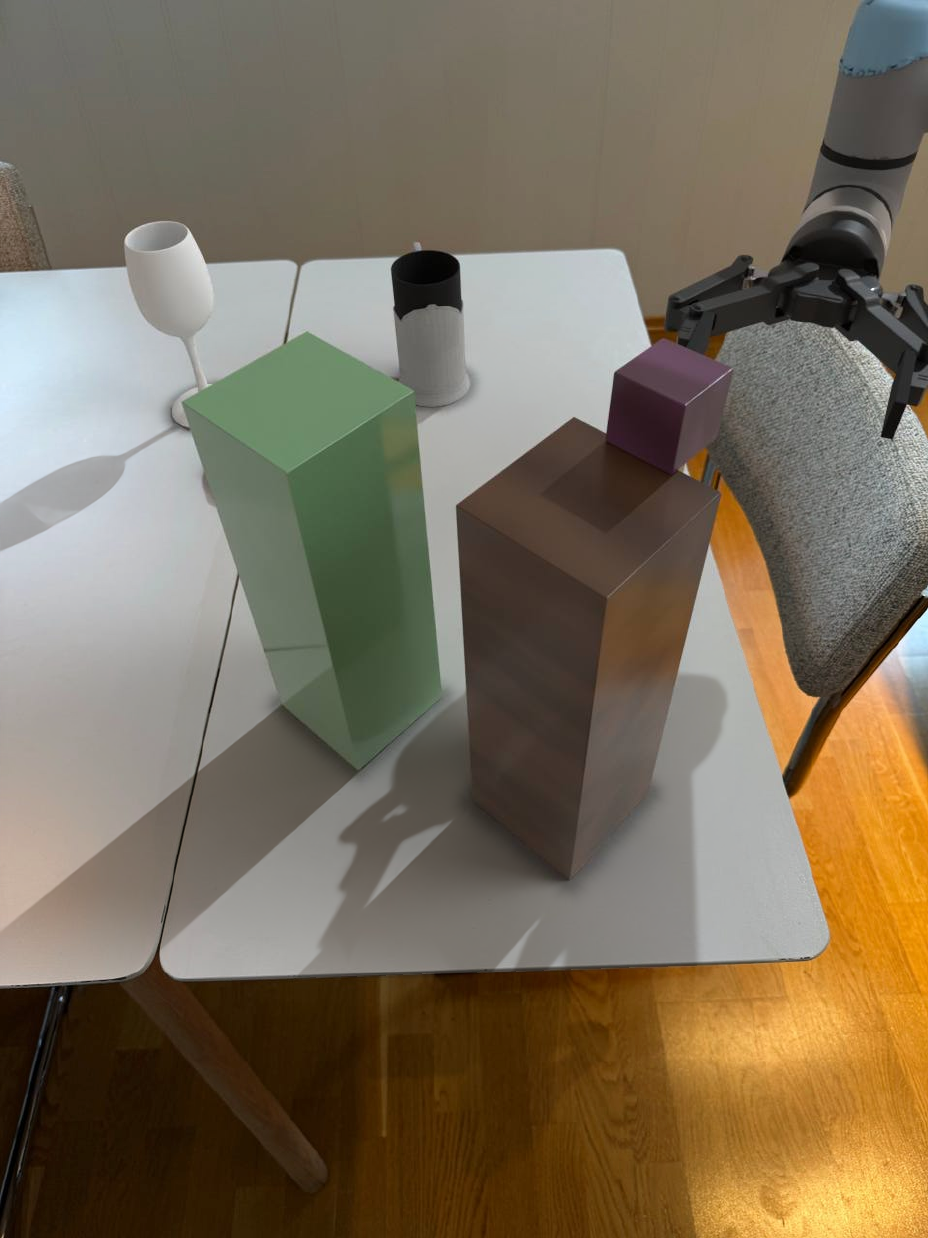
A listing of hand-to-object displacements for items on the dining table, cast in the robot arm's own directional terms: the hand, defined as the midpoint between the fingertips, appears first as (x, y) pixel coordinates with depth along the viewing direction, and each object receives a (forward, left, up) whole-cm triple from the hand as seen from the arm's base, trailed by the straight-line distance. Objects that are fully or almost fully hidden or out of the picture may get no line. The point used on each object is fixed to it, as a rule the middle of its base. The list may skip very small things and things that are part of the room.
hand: (784, 397), depth 59 cm
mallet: (-12, +10, +1) cm, 16 cm away
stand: (-16, +12, -28) cm, 34 cm away
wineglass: (+30, +58, -28) cm, 71 cm away
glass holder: (+40, +33, -28) cm, 59 cm away
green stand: (-9, +30, -28) cm, 42 cm away
